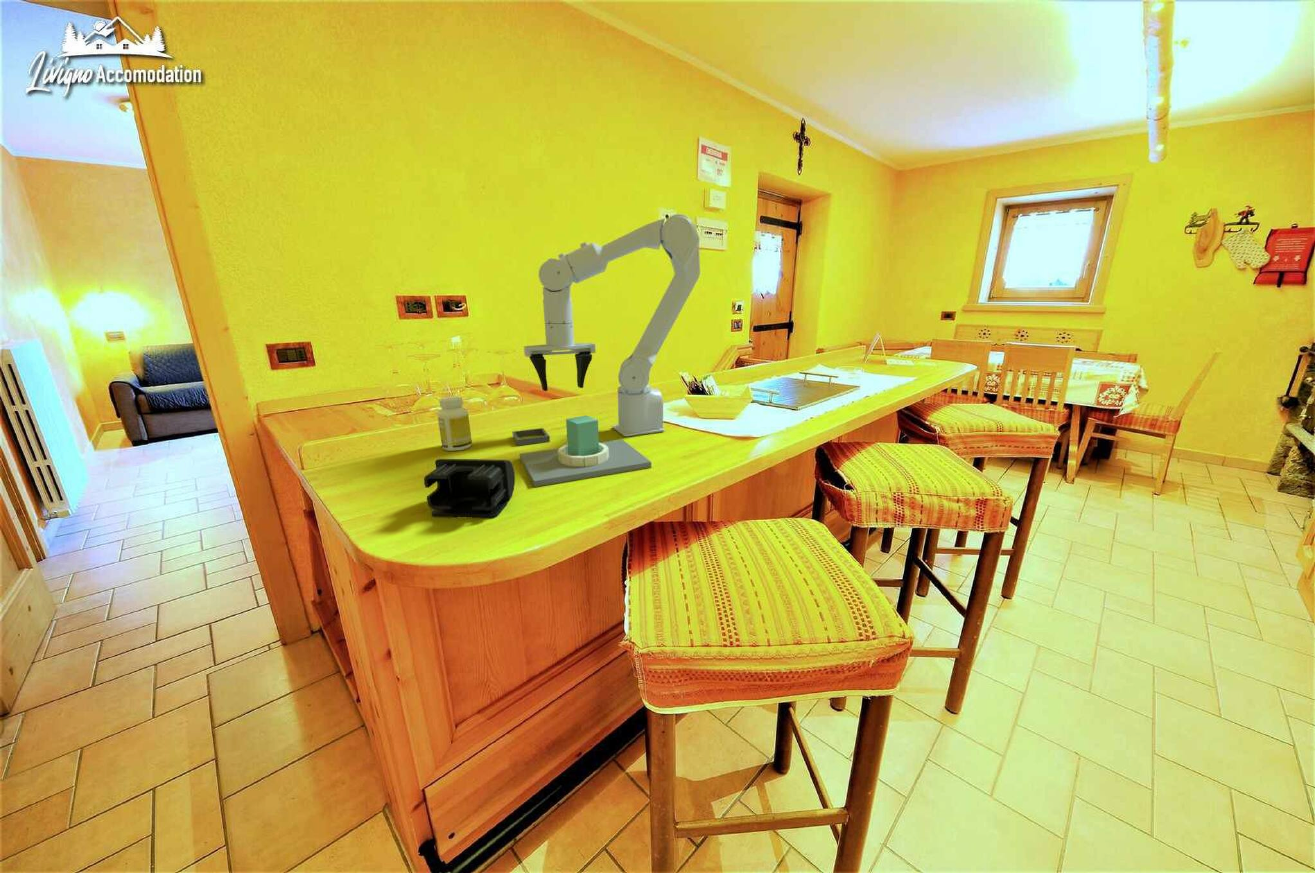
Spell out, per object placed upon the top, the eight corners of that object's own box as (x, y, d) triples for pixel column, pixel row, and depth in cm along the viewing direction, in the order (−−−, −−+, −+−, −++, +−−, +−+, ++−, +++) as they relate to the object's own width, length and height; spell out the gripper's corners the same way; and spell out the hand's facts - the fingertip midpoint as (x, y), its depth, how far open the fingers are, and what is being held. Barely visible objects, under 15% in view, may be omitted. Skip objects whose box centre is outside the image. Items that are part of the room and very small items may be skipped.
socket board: (622, 444, 91) (622, 431, 90) (651, 467, 79) (651, 453, 78) (519, 458, 83) (518, 445, 82) (534, 487, 71) (533, 471, 70)
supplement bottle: (477, 443, 91) (471, 395, 88) (463, 452, 86) (456, 401, 83) (451, 442, 92) (444, 395, 89) (436, 451, 87) (428, 401, 84)
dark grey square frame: (543, 433, 98) (542, 427, 98) (549, 441, 92) (549, 436, 92) (512, 437, 95) (512, 431, 95) (517, 445, 90) (517, 440, 89)
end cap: (517, 496, 68) (513, 453, 66) (499, 518, 61) (494, 472, 59) (451, 495, 68) (445, 452, 66) (426, 517, 61) (418, 470, 59)
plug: (588, 452, 83) (586, 415, 81) (599, 458, 80) (597, 420, 78) (568, 456, 81) (566, 419, 79) (579, 463, 78) (577, 424, 76)
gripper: (587, 321, 99) (590, 382, 103) (519, 322, 93) (524, 388, 97) (597, 323, 93) (599, 388, 97) (525, 325, 87) (531, 394, 91)
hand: (562, 388), depth 97 cm, fingers open, 7 cm apart
